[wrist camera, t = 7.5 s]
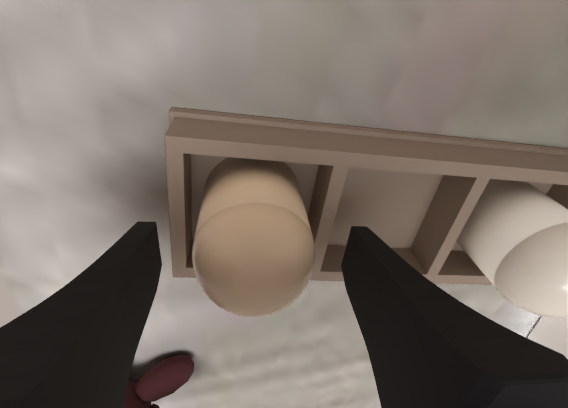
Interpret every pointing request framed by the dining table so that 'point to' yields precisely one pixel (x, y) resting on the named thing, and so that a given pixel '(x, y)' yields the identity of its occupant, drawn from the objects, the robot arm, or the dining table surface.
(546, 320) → the toilet paper
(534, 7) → the dining table surface
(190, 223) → the egg carton
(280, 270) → the tan egg
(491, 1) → the dining table surface
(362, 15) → the dining table surface
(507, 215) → the cream egg
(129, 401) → the brown plush toy
